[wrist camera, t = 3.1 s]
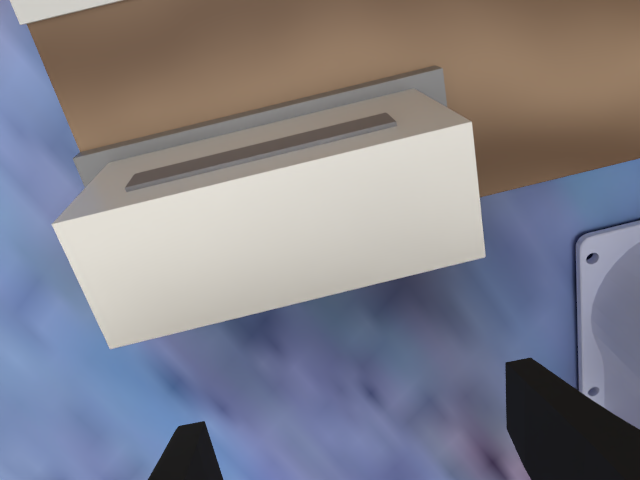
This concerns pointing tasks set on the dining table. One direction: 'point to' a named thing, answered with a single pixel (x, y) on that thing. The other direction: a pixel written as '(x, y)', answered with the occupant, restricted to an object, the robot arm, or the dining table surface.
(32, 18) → the mat
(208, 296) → the mounted unit
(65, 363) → the dining table surface
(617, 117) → the service board
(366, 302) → the dining table surface
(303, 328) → the dining table surface
